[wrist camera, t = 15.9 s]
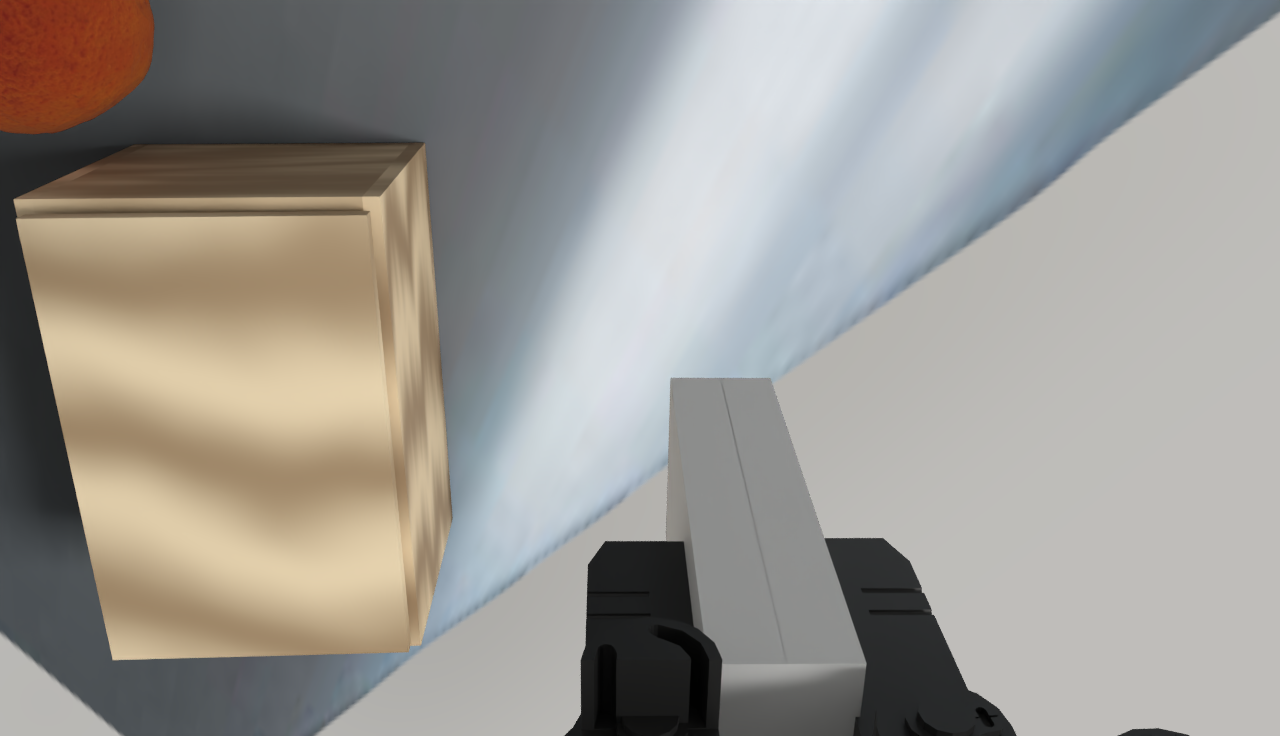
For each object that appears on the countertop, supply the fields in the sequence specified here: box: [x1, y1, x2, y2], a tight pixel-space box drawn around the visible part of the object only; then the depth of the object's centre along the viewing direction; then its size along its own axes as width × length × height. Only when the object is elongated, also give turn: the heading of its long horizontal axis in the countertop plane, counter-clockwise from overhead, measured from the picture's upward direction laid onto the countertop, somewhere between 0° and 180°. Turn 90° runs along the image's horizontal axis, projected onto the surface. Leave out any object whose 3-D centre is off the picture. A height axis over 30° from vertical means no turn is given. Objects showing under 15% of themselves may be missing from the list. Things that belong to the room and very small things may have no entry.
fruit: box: [0, 0, 154, 134], centre depth 39 cm, size 9×9×8 cm
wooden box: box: [13, 143, 452, 646], centre depth 44 cm, size 18×12×10 cm, turn 0°
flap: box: [16, 211, 411, 660], centre depth 38 cm, size 17×11×1 cm, turn 0°
